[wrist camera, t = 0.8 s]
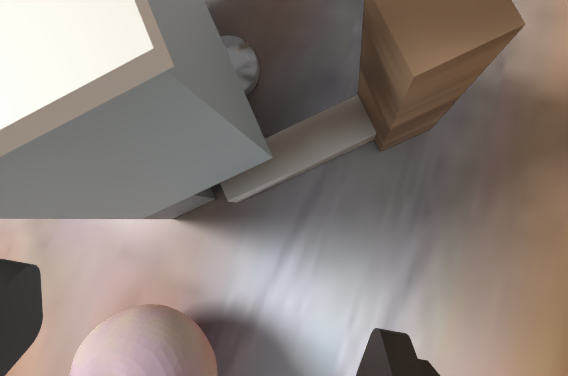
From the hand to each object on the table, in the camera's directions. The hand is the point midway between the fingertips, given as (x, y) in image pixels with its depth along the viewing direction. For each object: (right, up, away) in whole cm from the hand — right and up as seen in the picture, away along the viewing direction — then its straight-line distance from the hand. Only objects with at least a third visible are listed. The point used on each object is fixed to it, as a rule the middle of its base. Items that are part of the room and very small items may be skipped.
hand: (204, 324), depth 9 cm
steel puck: (-2, +13, +22) cm, 25 cm away
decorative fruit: (-6, -9, +21) cm, 23 cm away
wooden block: (+5, +6, +20) cm, 21 cm away
